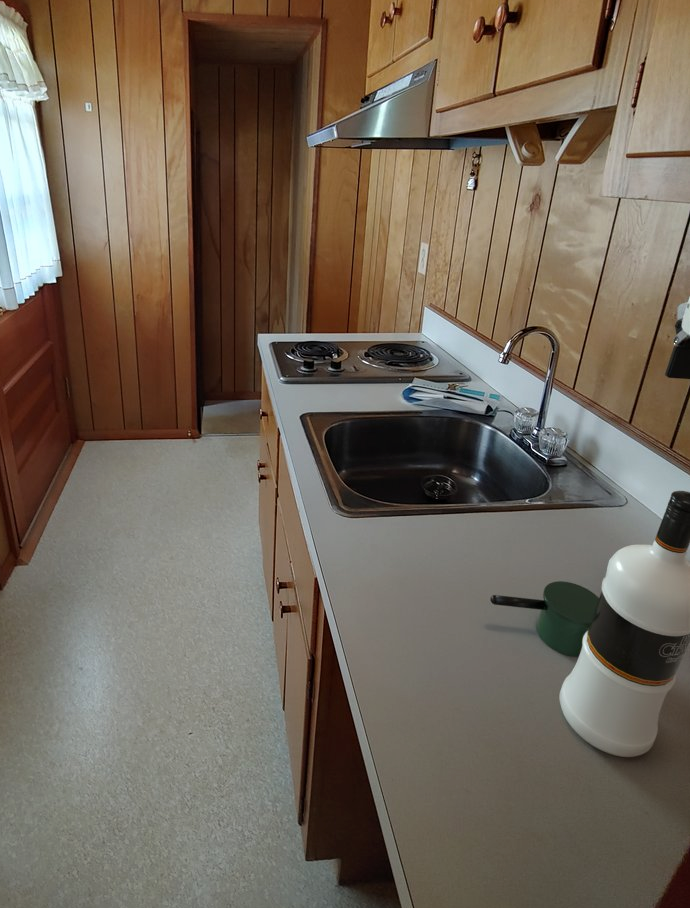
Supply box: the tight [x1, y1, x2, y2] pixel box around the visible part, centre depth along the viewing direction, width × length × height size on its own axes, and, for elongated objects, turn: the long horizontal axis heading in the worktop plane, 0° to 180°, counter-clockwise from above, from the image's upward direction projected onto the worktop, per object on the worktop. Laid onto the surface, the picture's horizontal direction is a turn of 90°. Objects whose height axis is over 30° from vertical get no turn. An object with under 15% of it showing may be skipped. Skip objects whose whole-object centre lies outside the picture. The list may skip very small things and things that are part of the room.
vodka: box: [558, 490, 690, 758], centre depth 56 cm, size 9×9×30 cm
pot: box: [489, 580, 600, 657], centre depth 72 cm, size 14×7×6 cm, turn 83°
